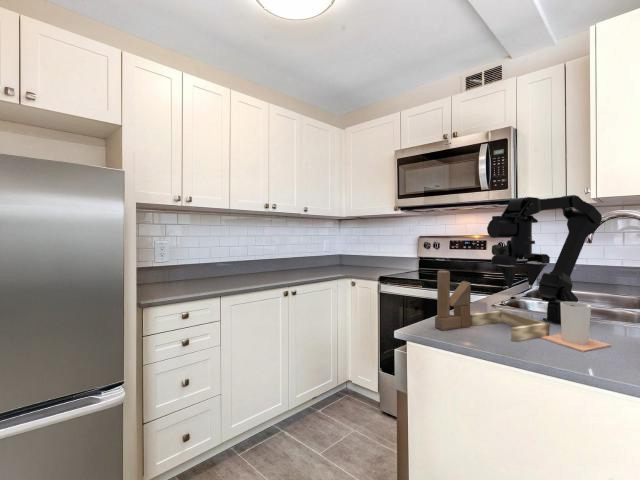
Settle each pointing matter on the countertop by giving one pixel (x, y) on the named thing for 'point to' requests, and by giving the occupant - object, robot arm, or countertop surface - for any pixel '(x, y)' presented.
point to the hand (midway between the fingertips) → (520, 286)
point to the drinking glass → (575, 322)
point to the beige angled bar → (513, 324)
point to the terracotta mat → (580, 347)
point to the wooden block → (452, 303)
